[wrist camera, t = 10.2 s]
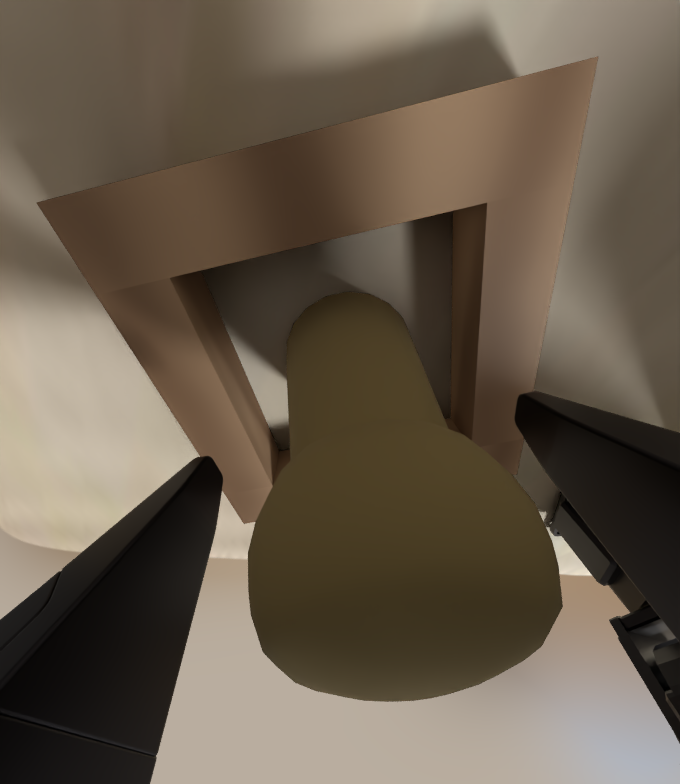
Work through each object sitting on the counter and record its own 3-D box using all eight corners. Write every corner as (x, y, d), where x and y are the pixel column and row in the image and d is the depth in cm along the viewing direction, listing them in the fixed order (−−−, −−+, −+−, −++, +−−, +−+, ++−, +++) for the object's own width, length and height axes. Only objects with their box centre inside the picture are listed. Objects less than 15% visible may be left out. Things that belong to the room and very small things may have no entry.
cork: (422, 387, 14) (621, 697, 5) (315, 423, 15) (305, 750, 6) (394, 268, 11) (779, 476, 2) (262, 321, 12) (43, 658, 3)
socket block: (531, 98, 9) (598, 56, 7) (491, 442, 16) (517, 474, 14) (100, 208, 10) (36, 202, 7) (253, 487, 17) (243, 523, 15)
